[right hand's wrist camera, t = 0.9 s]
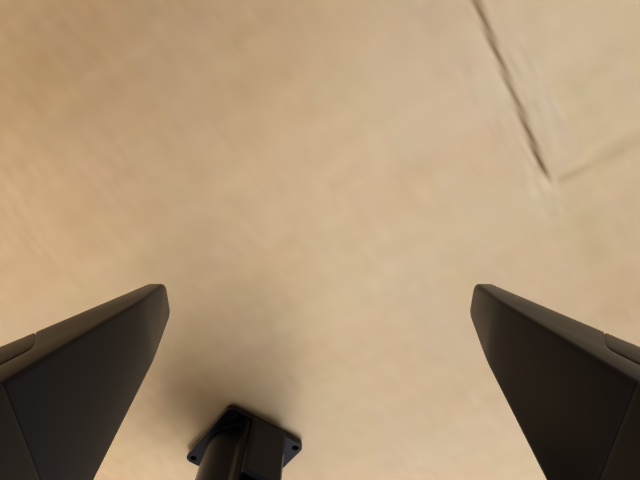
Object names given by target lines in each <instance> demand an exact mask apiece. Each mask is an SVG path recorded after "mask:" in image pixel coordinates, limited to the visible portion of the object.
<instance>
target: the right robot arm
mask: <svg viewBox="0 0 640 480" xmlns="http://www.w3.org/2000/svg"><path fill="white" fill-rule="evenodd" d="M169 312H170V311H169V303H168V298H167V292H166V288H165V286H164V285H163V284H149V285H146V286H144V287H141V288H139V289H137V290H134V291H132V292H130V293H127V294H125V295H123V296H120V297H118V298H115V299H113V300H111V301H108V302H106V303H104V304H101V305H99V306H97V307H94V308H92V309H90V310H87V311H85V312H83V313H80V314H78V315H75V316H73V317H71V318H68V319H66V320H64V321H61V322H59V323H57V324H54V325H52V326H50V327H47V328H45V329H43V330H40V331H38V332H36V334H35V333H33V334H31V335H28V336H26V337H24V338H21V339H19V340H16V341H14V342H12V343H9V344H7V345H4V346H2V347H0V480H93V479H94V477H95V475H96V473H97V471H98V469H99V467H100V465H101V463H102V461H103V459H104V457H105V455H106V453H107V451H108V449H109V447H110V445H111V443H112V441H113V439H114V437H115V435H116V433H117V431H118V429H119V427H120V425H121V423H122V421H123V419H124V417H125V415H126V413H127V411H128V409H129V407H130V405H131V403H132V401H133V399H134V397H135V395H136V393H137V391H138V389H139V387H140V385H141V384H142V382H143V380H144V378H145V376H146V374H147V372H148V370H149V368H150V365H151V363H152V361H153V359H154V356H155V354H156V351H157V348H158V346H159V343H160V340H161V337H162V335H163V332H164V329H165V326H166V323H167V321H168V318H169ZM470 312H471V318H472V321H473V323H474V326H475V329H476V332H477V335H478V337H479V340H480V343H481V346H482V348H483V351H484V354H485V356H486V359H487V361H488V363H489V366H490V368H491V370H492V372H493V374H494V376H495V378H496V380H497V382H498V384H499V386H500V388H501V390H502V391H503V393H504V395H505V397H506V399H507V401H508V403H509V405H510V407H511V409H512V411H513V413H514V415H515V417H516V419H517V421H518V423H519V425H520V427H521V429H522V431H523V433H524V435H525V437H526V439H527V441H528V443H529V445H530V447H531V449H532V451H533V453H534V455H535V457H536V459H537V461H538V463H539V465H540V467H541V469H542V471H543V473H544V475H545V477H546V479H547V480H640V347H638V346H636V345H633V344H631V343H628V342H626V341H624V340H621V339H619V338H616V337H614V336H612V335H609V334H607V333H605V334H604V332H602V331H600V330H597V329H595V328H593V327H590V326H588V325H586V324H583V323H581V322H579V321H576V320H574V319H572V318H569V317H567V316H565V315H562V314H560V313H557V312H555V311H553V310H550V309H548V308H546V307H543V306H541V305H539V304H536V303H534V302H532V301H529V300H527V299H524V298H522V297H520V296H517V295H515V294H513V293H510V292H508V291H506V290H503V289H501V288H499V287H496V286H494V285H491V284H477V285H476V286H475V288H474V292H473V298H472V303H471V310H470ZM232 412H234V413H232ZM301 449H302V442H301V440H300V439H298V438H296V437H294V436H292V435H290V434H288V433H287V432H285V431H283V430H281V429H279V428H277V427H275V426H273V425H272V424H270V423H268V422H266V421H264V420H262V419H260V418H258V417H256V416H255V415H253V414H251V413H249V412H247V411H245V410H243V409H241V408H240V407H238V406H235V405H229V406H228V407H226V409H225V410H224V411H223V412H222V413H221V414H220V416H219V417H218V418H217V419H216V420H215V421H214V423H213V424H212V425H211V426H210V427H209V428H208V430H207V431H206V432H205V433H204V434H203V435H202V436H201V438H200V439H199V440H198V441H197V442H196V443H195V445H194V446H193V447H192V448H191V449H190V450H189V452H188V455H187V459H188V461H190V462H192V463H194V464H196V465H198V466H199V469H198V472H197V476H196V479H195V480H281V478H282V468H283V467H284V466H285V465H286V464H287V463H288V462H289V461H290V460H291V459H293V458H294V457H295V456H296V455H297V454H298V453H299V452H300V451H301Z"/></svg>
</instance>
